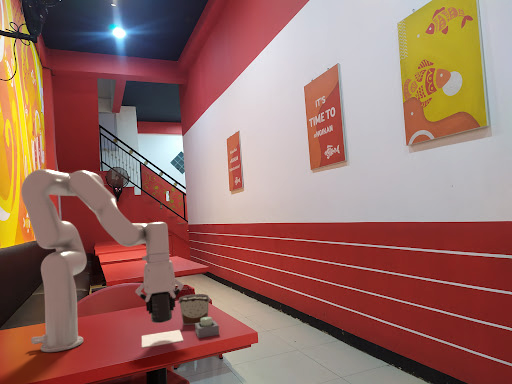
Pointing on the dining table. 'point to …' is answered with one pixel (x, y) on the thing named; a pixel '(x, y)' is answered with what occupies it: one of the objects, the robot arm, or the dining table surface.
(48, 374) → the dining table surface
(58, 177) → the robot arm
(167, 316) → the supplement bottle
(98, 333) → the dining table surface
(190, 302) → the food container
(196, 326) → the button housing
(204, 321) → the button
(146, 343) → the paper sheet
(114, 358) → the dining table surface
